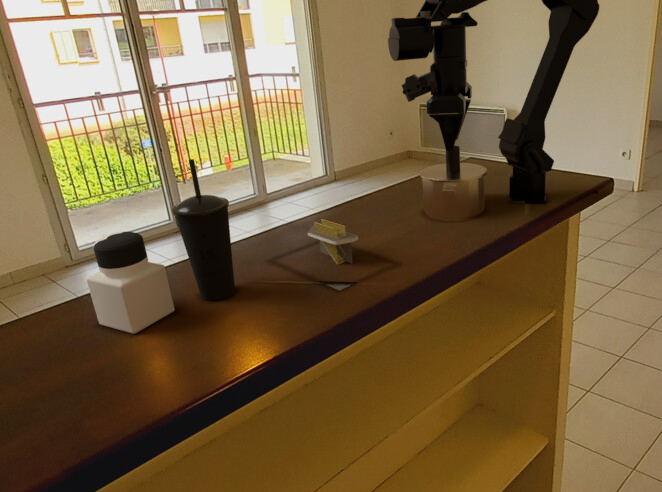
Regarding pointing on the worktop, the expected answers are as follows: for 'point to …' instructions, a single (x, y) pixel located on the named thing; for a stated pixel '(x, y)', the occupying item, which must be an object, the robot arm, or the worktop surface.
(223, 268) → the drinking cup
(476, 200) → the pot
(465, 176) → the lid
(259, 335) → the worktop surface
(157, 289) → the medicine bottle
